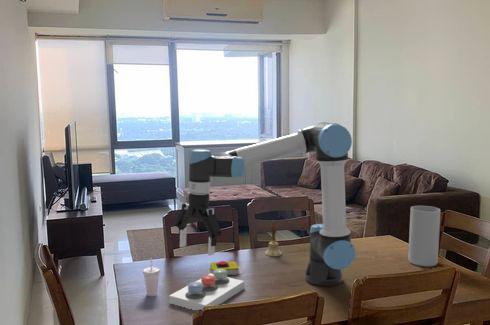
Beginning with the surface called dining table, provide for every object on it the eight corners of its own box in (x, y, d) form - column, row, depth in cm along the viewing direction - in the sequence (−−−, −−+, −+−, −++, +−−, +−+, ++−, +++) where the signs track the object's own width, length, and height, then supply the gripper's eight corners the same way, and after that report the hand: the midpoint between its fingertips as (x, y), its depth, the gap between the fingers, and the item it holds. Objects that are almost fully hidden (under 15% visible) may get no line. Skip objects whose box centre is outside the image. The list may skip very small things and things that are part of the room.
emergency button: (206, 259, 207) (240, 258, 210) (206, 269, 208) (240, 267, 210) (208, 267, 198) (244, 265, 201) (208, 277, 199) (244, 275, 201)
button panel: (244, 288, 185) (244, 280, 185) (205, 313, 163) (205, 304, 163) (210, 280, 194) (210, 272, 193) (169, 303, 171) (169, 294, 171)
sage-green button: (229, 275, 186) (229, 270, 185) (222, 280, 181) (221, 274, 181) (218, 273, 188) (218, 268, 188) (210, 277, 184) (210, 272, 183)
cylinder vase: (402, 262, 216) (405, 208, 213) (416, 256, 225) (419, 204, 222) (429, 269, 207) (431, 213, 204) (442, 262, 215) (445, 209, 212)
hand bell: (262, 252, 231) (262, 220, 229) (278, 250, 233) (278, 218, 231) (268, 257, 223) (268, 224, 221) (284, 255, 225) (285, 222, 223)
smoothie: (161, 290, 183) (160, 255, 181) (159, 297, 177) (158, 261, 175) (144, 291, 183) (144, 255, 181) (141, 297, 176) (140, 261, 175)
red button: (217, 282, 179) (217, 276, 178) (209, 287, 174) (209, 281, 174) (206, 279, 181) (206, 274, 181) (198, 284, 177) (198, 278, 177)
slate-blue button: (205, 289, 172) (205, 283, 172) (196, 294, 167) (196, 288, 167) (194, 286, 175) (193, 281, 174) (185, 291, 170) (185, 285, 170)
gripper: (166, 189, 174) (164, 245, 176) (219, 199, 159) (217, 260, 162) (180, 186, 180) (178, 241, 182) (233, 196, 165) (230, 255, 168)
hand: (196, 250), depth 172 cm, fingers open, 13 cm apart
